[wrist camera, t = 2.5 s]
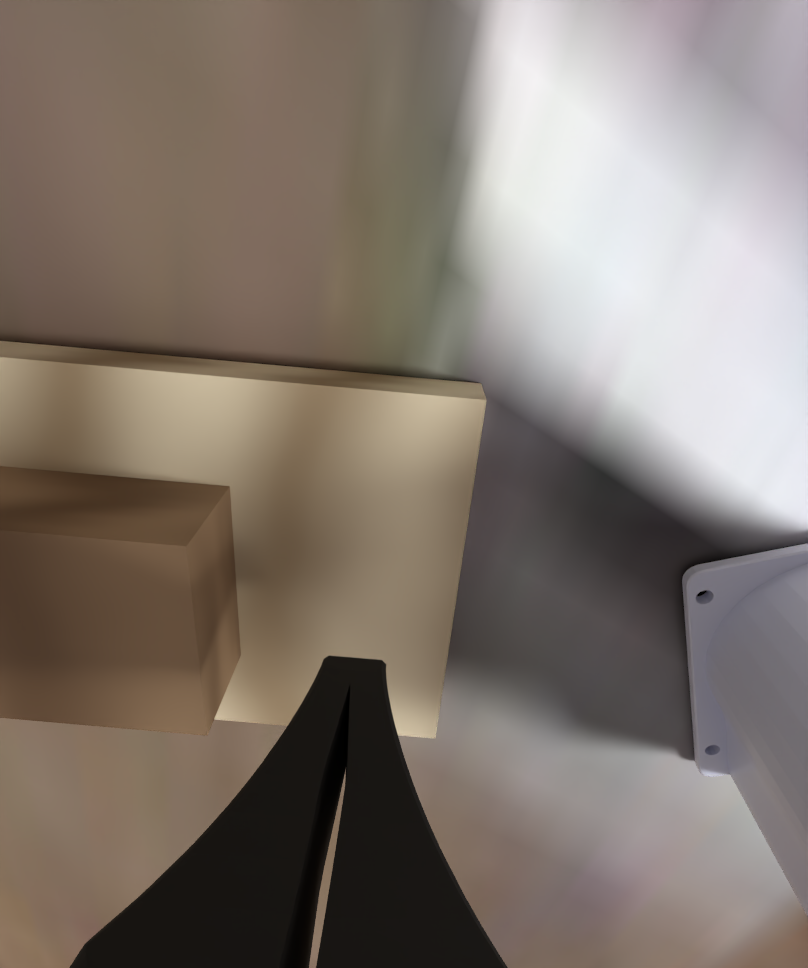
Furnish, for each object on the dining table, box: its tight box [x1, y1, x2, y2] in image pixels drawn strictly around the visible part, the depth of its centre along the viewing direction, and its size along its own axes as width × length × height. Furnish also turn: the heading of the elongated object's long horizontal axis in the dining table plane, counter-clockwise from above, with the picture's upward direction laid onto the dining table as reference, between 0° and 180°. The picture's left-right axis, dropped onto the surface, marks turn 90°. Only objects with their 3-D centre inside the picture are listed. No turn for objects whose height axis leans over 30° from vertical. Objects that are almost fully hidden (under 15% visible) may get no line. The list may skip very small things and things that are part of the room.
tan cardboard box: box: [0, 466, 241, 736], centre depth 15 cm, size 8×6×3 cm
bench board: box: [0, 341, 486, 738], centre depth 17 cm, size 22×12×2 cm, turn 85°
